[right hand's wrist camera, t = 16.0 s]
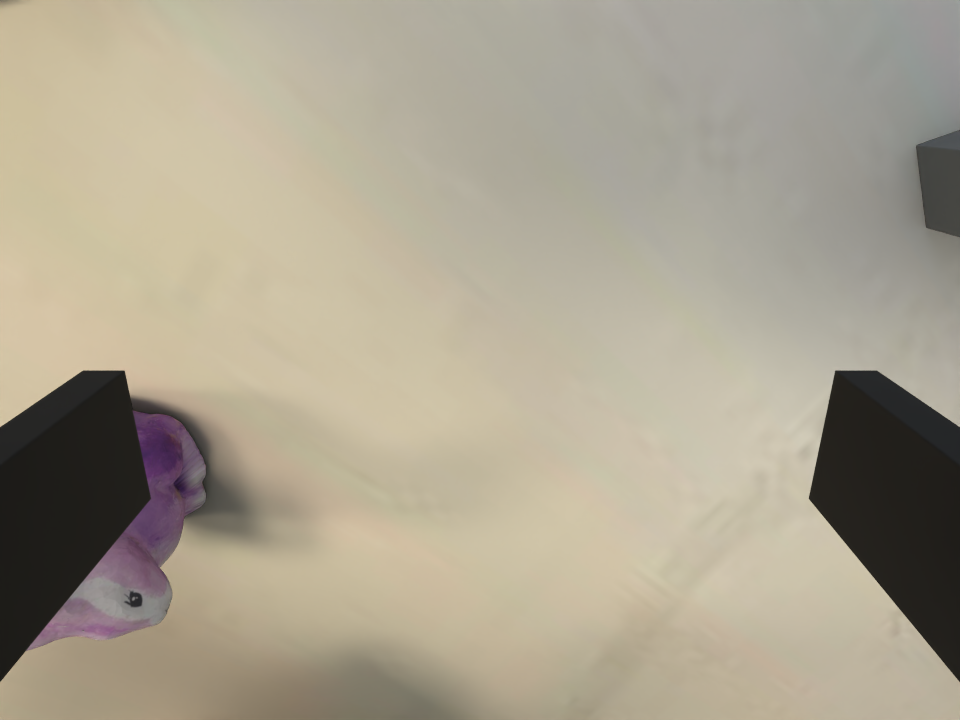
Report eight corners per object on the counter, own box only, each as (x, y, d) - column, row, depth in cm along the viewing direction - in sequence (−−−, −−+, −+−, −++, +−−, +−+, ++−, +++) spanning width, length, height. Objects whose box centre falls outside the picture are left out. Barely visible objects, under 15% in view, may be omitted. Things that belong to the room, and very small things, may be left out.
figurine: (224, 533, 47) (117, 715, 33) (76, 505, 47) (-96, 679, 33) (237, 416, 44) (125, 564, 30) (79, 384, 43) (-112, 520, 29)
